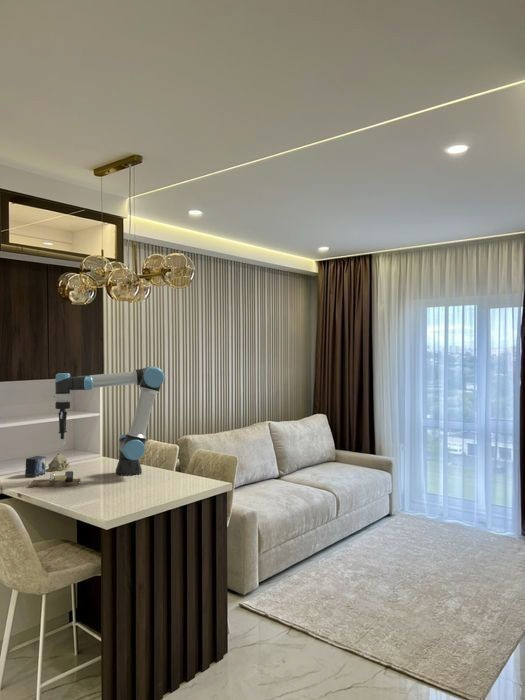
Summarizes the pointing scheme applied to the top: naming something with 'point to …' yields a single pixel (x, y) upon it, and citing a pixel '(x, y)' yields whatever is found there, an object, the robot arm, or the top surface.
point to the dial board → (54, 483)
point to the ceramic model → (58, 463)
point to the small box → (35, 466)
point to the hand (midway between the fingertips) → (62, 444)
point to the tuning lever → (62, 476)
